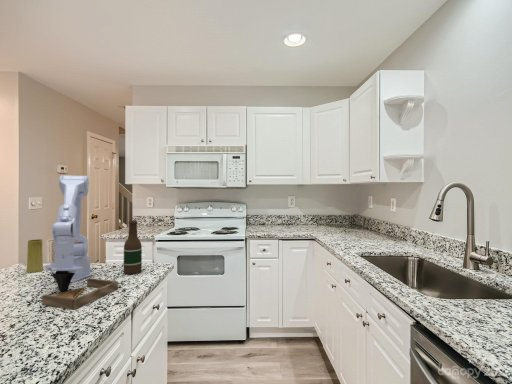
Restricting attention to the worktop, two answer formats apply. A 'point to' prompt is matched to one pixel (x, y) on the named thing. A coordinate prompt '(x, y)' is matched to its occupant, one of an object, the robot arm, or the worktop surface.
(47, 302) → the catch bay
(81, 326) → the worktop surface
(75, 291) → the shard
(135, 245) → the beer bottle
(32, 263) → the olive green rod
